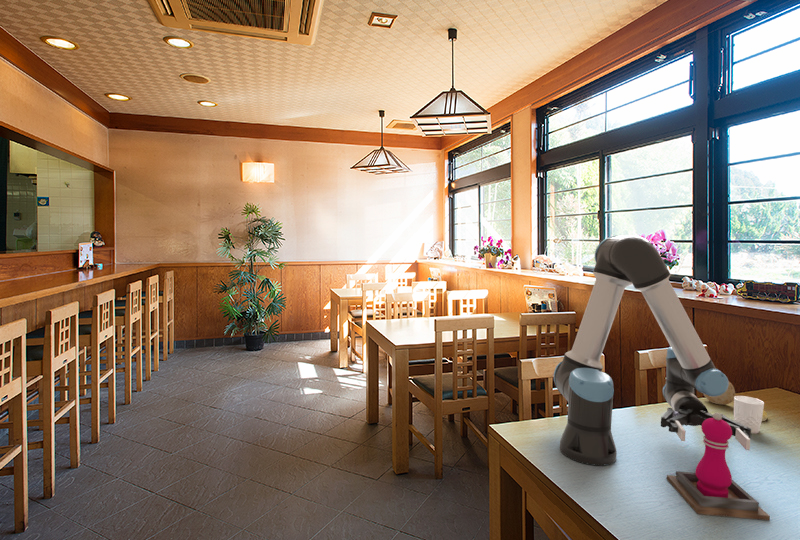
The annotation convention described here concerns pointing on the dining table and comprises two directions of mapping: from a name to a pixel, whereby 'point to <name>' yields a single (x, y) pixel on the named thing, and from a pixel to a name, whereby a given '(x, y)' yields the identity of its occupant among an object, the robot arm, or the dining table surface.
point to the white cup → (748, 412)
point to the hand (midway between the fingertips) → (715, 440)
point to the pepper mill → (714, 458)
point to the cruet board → (717, 499)
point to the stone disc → (723, 396)
